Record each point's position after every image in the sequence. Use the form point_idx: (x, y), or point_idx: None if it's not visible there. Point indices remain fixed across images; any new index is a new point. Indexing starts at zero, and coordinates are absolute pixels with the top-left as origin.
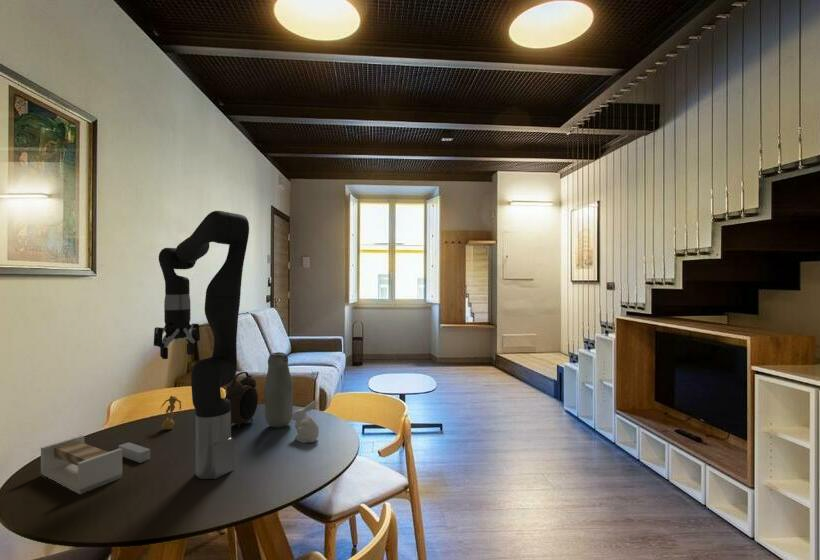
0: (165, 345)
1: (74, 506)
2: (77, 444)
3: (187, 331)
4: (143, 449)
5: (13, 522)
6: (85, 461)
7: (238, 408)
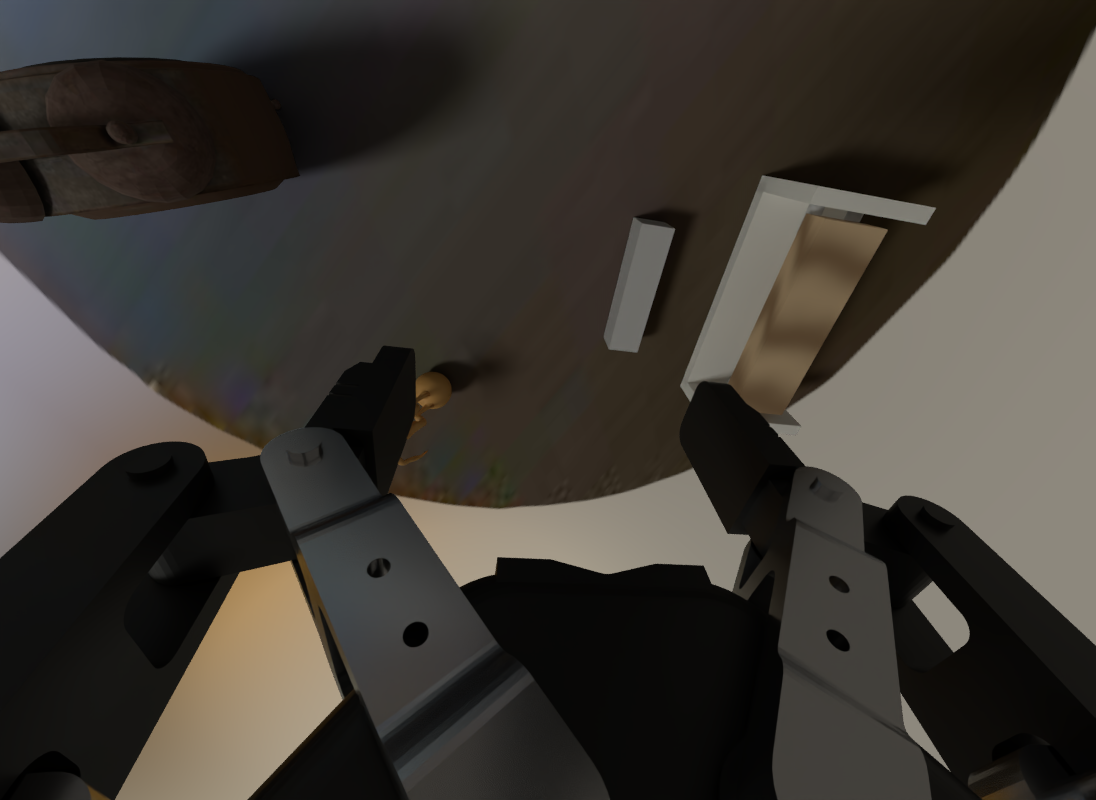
0: (843, 488)
1: (930, 133)
2: (758, 383)
3: (408, 718)
4: (647, 246)
5: (984, 210)
6: (920, 207)
7: (226, 66)
